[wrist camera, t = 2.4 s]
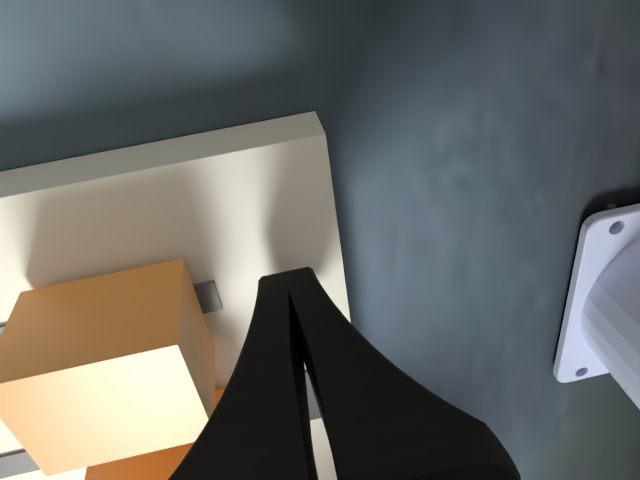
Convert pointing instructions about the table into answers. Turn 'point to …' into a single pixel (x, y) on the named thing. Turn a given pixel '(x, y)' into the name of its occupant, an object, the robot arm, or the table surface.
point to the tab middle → (144, 463)
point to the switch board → (179, 233)
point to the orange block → (107, 367)
